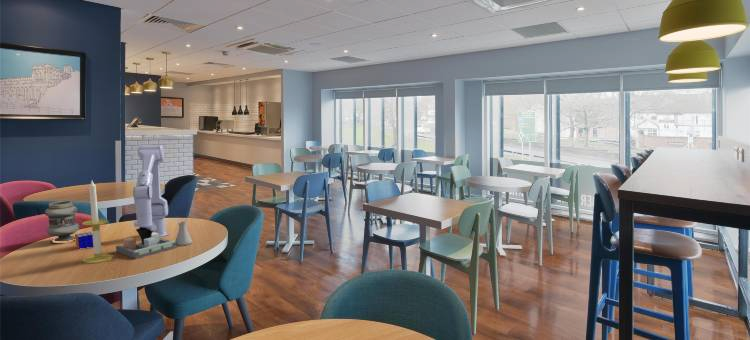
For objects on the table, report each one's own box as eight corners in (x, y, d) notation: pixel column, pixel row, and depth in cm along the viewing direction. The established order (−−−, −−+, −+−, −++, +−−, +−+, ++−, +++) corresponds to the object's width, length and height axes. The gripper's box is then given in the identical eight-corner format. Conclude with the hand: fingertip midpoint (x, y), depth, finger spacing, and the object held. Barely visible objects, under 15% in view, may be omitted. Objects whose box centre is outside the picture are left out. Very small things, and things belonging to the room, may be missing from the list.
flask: (185, 246, 179) (184, 224, 178) (170, 245, 181) (169, 223, 180) (195, 241, 186) (194, 220, 185) (181, 240, 188) (180, 219, 187)
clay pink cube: (123, 248, 172) (123, 239, 172) (131, 246, 175) (131, 237, 174) (128, 250, 170) (127, 240, 170) (136, 248, 173) (135, 239, 172)
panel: (116, 251, 172) (115, 244, 172) (156, 241, 186) (155, 234, 186) (135, 258, 163) (135, 251, 163) (175, 247, 178) (175, 240, 177)
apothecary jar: (41, 242, 183) (37, 203, 181) (70, 235, 194) (66, 198, 192) (58, 246, 178) (54, 206, 176) (86, 238, 189) (83, 201, 187)
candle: (90, 265, 156) (83, 182, 152) (78, 260, 161) (71, 179, 157) (117, 257, 165) (112, 178, 160) (105, 253, 170) (99, 176, 166)
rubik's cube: (76, 246, 178) (74, 234, 177) (91, 243, 182) (90, 231, 182) (79, 249, 174) (78, 236, 174) (94, 246, 178) (93, 234, 178)
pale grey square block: (147, 242, 180) (147, 233, 180) (154, 240, 183) (154, 232, 183) (152, 244, 178) (151, 235, 178) (159, 242, 181) (159, 233, 180)
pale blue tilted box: (144, 248, 173) (143, 239, 172) (151, 246, 175) (151, 237, 175) (149, 250, 170) (148, 240, 170) (156, 248, 173) (156, 239, 173)
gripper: (125, 212, 173) (127, 243, 175) (143, 217, 166) (145, 249, 167) (142, 209, 179) (144, 239, 181) (160, 214, 171) (162, 245, 173)
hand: (146, 244), depth 175 cm, fingers closed
